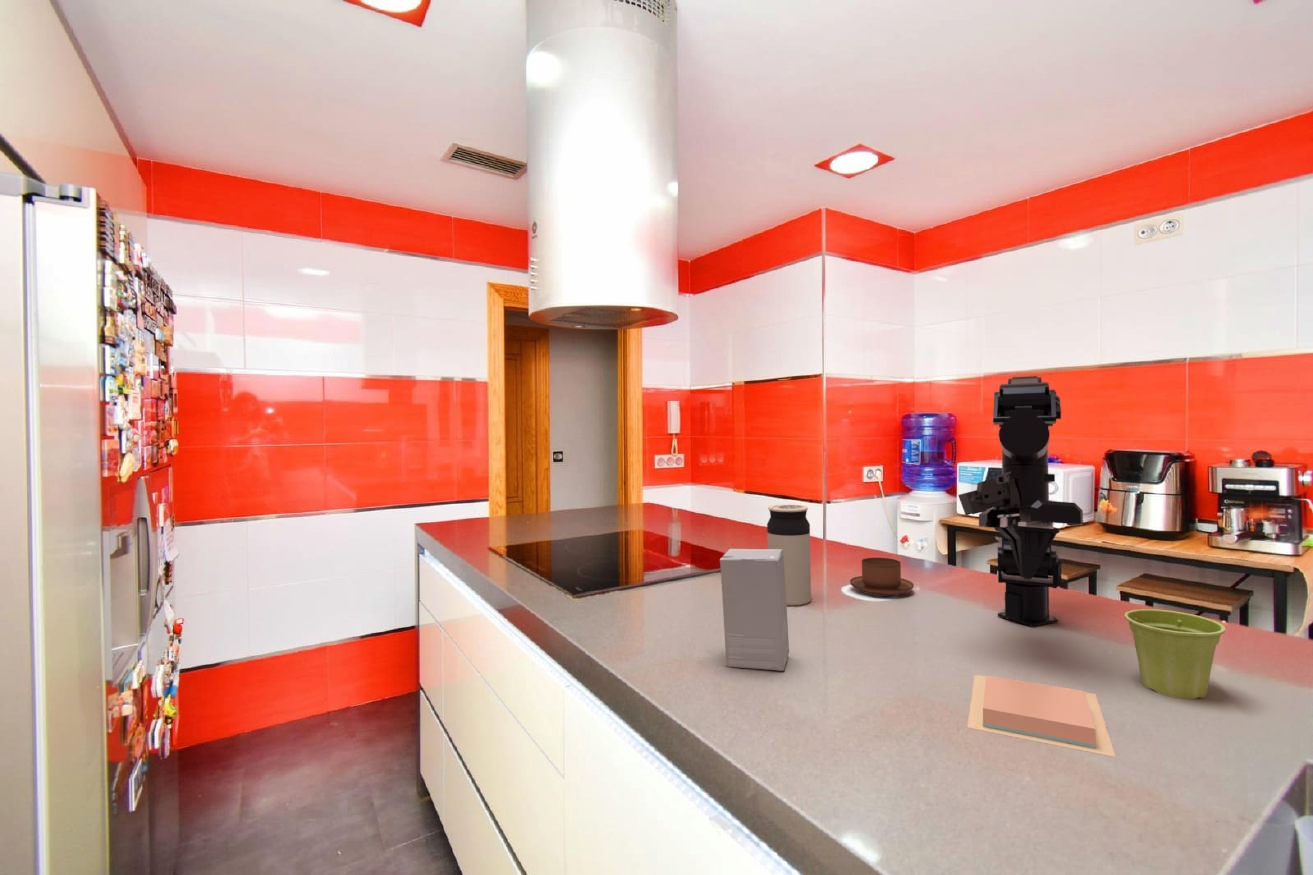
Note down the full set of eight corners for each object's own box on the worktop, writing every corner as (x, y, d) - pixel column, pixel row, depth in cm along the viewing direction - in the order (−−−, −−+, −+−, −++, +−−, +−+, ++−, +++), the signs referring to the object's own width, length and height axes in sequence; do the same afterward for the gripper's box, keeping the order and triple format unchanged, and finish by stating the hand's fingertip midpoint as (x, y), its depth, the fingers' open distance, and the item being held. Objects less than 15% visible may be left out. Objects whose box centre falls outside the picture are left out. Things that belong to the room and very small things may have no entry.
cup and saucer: (838, 587, 127) (837, 558, 127) (887, 582, 131) (886, 553, 131) (875, 603, 116) (874, 570, 116) (927, 596, 119) (927, 564, 119)
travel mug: (816, 598, 119) (815, 505, 119) (802, 608, 112) (801, 510, 112) (777, 593, 123) (775, 503, 123) (762, 603, 116) (760, 508, 116)
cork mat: (974, 677, 81) (974, 674, 81) (1095, 696, 74) (1095, 694, 74) (967, 730, 67) (967, 727, 67) (1115, 760, 60) (1115, 757, 60)
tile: (985, 675, 75) (982, 708, 67) (1084, 691, 70) (1095, 728, 62) (986, 691, 75) (983, 726, 67) (1085, 708, 70) (1095, 749, 62)
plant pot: (1235, 715, 69) (1234, 638, 69) (1129, 697, 74) (1129, 625, 74) (1215, 684, 77) (1214, 615, 77) (1121, 670, 82) (1120, 605, 82)
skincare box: (789, 656, 89) (787, 547, 89) (783, 675, 82) (780, 557, 82) (732, 650, 92) (730, 545, 92) (721, 668, 85) (719, 554, 85)
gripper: (944, 472, 99) (943, 571, 96) (991, 454, 80) (991, 575, 78) (1018, 477, 97) (1020, 578, 94) (1083, 460, 79) (1087, 584, 76)
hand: (1026, 578), depth 86 cm, fingers closed
